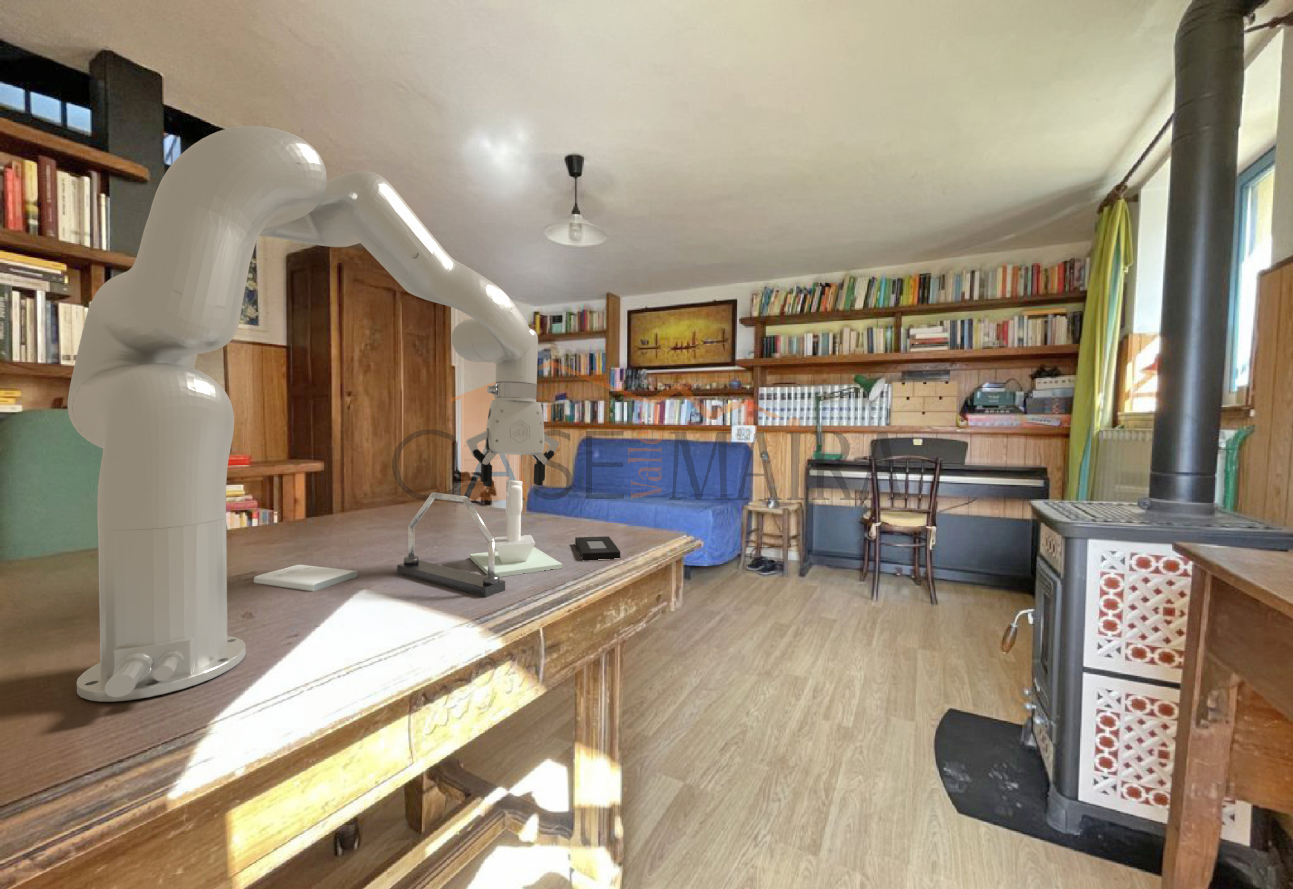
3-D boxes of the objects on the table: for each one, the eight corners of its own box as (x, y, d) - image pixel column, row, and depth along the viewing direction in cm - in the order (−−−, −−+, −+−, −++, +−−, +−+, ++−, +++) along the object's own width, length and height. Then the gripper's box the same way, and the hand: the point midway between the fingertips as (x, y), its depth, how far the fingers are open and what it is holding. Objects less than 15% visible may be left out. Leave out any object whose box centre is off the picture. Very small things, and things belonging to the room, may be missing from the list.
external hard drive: (313, 594, 78) (253, 585, 82) (357, 579, 86) (301, 572, 90) (313, 584, 78) (253, 575, 82) (357, 570, 86) (301, 562, 90)
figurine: (530, 552, 102) (530, 477, 101) (535, 564, 93) (536, 482, 92) (492, 554, 99) (493, 477, 99) (494, 567, 90) (495, 483, 90)
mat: (562, 568, 93) (562, 563, 93) (490, 578, 86) (490, 573, 86) (533, 550, 106) (534, 546, 106) (469, 558, 99) (469, 554, 99)
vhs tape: (608, 545, 114) (608, 536, 114) (620, 561, 101) (620, 551, 100) (575, 546, 113) (575, 537, 113) (582, 563, 99) (582, 553, 99)
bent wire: (506, 590, 80) (507, 499, 80) (486, 597, 77) (487, 502, 76) (417, 567, 92) (417, 487, 91) (396, 573, 88) (396, 490, 88)
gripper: (473, 389, 87) (470, 488, 88) (566, 396, 97) (564, 486, 97) (463, 391, 94) (460, 484, 94) (552, 398, 103) (549, 482, 103)
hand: (513, 485), depth 95 cm, fingers open, 9 cm apart
